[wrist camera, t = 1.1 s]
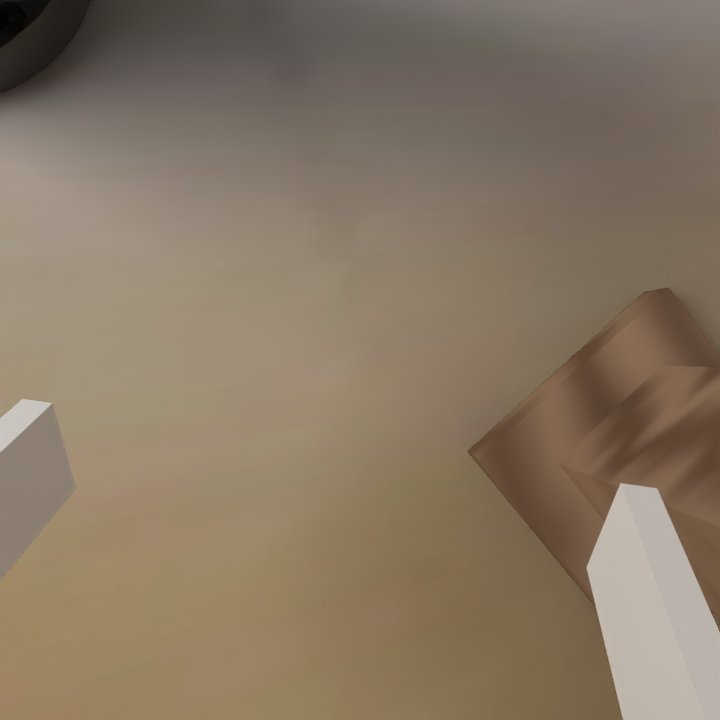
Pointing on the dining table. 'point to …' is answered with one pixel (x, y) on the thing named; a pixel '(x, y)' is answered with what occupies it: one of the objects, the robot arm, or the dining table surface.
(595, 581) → the robot arm
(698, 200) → the dining table surface
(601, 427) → the stand
